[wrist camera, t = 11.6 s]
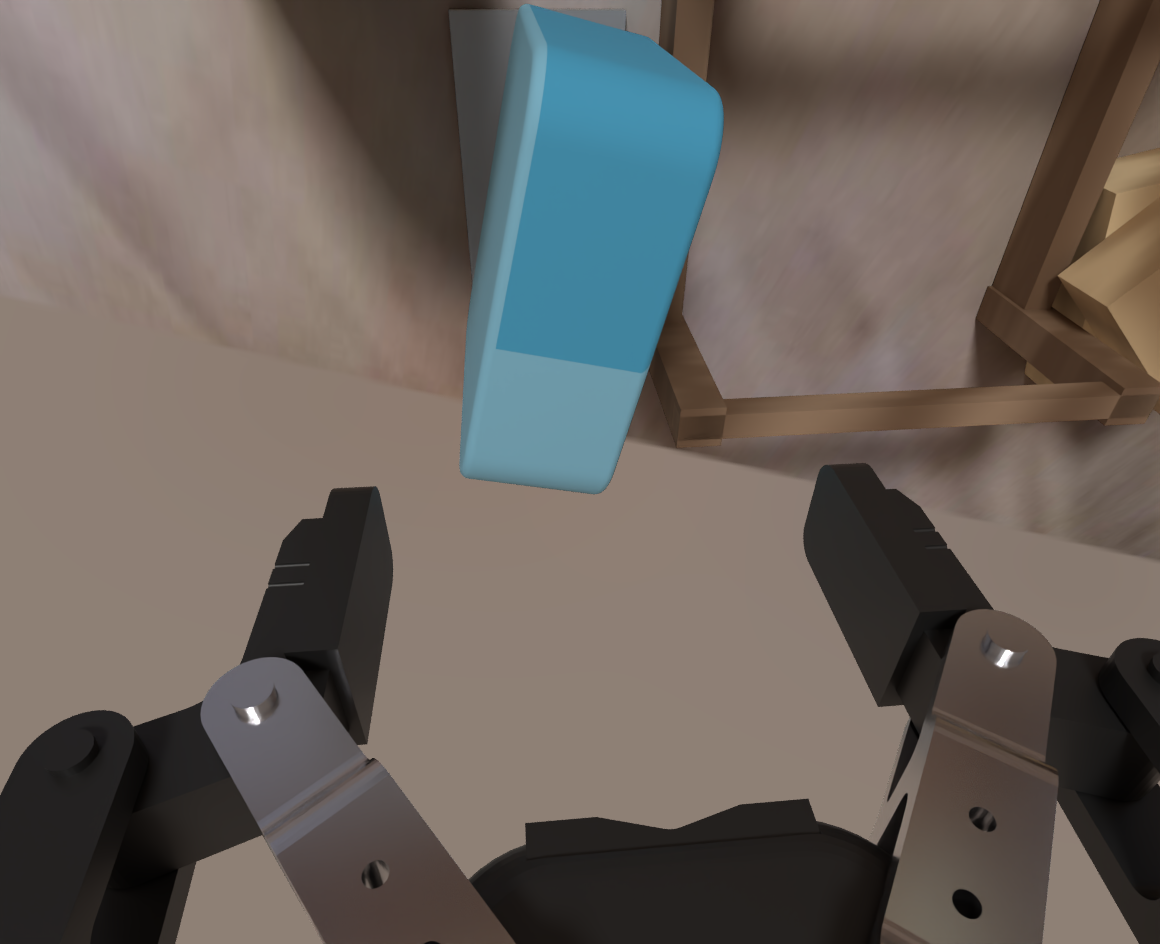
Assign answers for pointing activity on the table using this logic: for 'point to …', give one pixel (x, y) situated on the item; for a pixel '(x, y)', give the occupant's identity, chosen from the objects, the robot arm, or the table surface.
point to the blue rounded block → (579, 247)
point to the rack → (1010, 306)
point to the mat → (489, 93)
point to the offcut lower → (1110, 222)
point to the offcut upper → (1123, 290)
